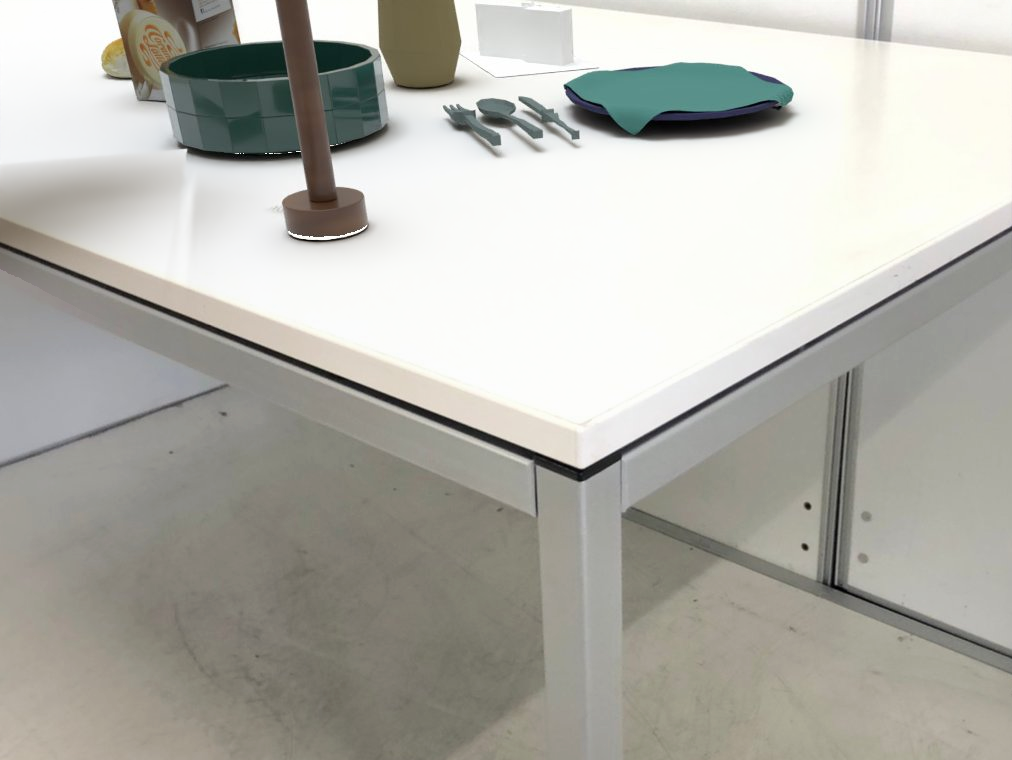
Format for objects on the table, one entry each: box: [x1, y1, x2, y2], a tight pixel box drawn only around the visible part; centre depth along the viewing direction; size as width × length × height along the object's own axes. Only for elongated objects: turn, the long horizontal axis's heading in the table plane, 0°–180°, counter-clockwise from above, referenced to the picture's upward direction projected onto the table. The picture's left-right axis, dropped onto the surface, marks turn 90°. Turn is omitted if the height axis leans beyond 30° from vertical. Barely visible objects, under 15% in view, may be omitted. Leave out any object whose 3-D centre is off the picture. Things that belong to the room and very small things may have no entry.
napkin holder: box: [459, 0, 599, 78], centre depth 119 cm, size 15×11×6 cm
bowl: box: [159, 39, 390, 154], centre depth 93 cm, size 17×17×6 cm
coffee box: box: [111, 0, 242, 102], centre depth 103 cm, size 9×6×16 cm
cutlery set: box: [442, 61, 795, 147], centre depth 98 cm, size 20×30×2 cm, turn 113°
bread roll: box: [100, 37, 132, 79], centre depth 117 cm, size 8×9×4 cm
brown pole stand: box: [274, 0, 369, 237], centre depth 69 cm, size 5×5×16 cm
